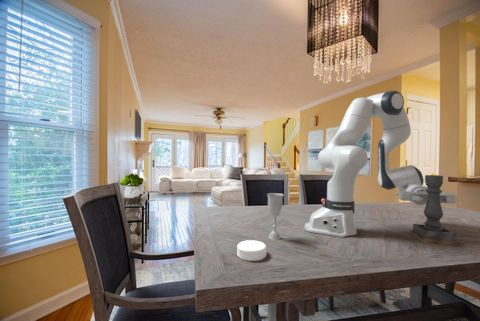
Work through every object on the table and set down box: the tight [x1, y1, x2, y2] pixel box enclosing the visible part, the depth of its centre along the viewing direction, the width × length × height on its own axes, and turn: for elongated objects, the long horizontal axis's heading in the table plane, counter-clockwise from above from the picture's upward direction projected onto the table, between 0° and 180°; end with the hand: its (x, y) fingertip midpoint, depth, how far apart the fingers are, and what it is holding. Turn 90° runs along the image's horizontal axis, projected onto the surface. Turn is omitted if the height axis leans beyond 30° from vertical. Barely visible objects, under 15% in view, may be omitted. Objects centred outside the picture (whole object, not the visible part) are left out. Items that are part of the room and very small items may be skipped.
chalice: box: [266, 192, 284, 241], centre depth 93 cm, size 7×7×18 cm
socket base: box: [409, 223, 461, 247], centre depth 93 cm, size 12×12×4 cm
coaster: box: [236, 239, 267, 262], centre depth 76 cm, size 10×10×4 cm
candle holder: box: [423, 174, 444, 232], centre depth 93 cm, size 6×6×25 cm
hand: (434, 199), depth 93 cm, fingers open, 8 cm apart
